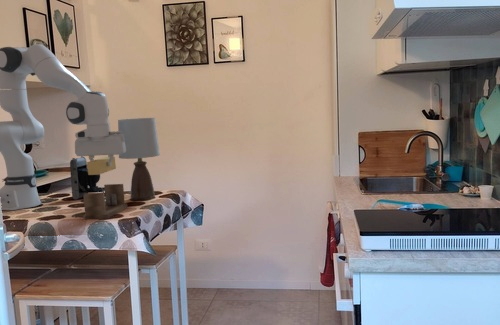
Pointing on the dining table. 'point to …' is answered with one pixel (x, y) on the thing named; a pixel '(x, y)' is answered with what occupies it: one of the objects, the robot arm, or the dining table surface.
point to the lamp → (140, 153)
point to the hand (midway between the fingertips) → (102, 166)
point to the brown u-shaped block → (96, 202)
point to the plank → (100, 166)
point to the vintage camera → (82, 179)
